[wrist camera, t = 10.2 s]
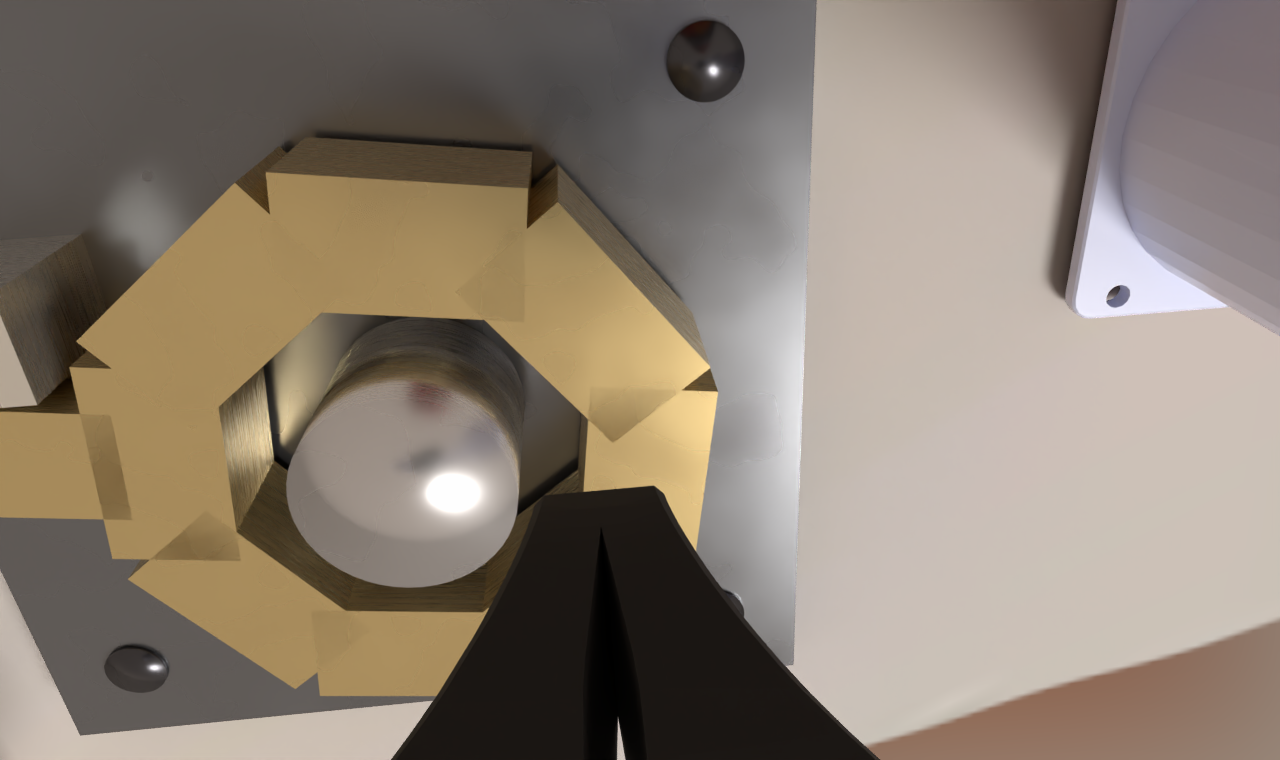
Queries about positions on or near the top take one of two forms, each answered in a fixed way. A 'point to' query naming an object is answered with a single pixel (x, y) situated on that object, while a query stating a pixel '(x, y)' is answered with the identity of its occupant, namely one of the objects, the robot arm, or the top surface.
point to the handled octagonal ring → (351, 284)
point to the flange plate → (400, 345)
